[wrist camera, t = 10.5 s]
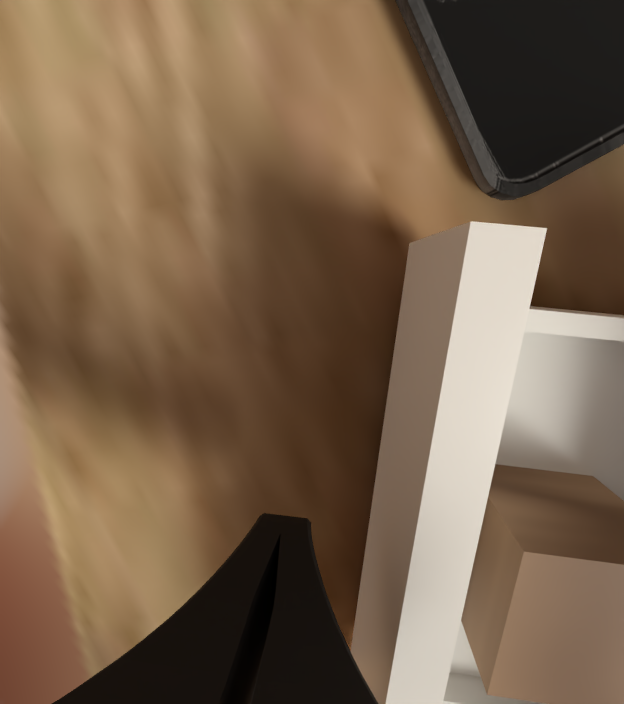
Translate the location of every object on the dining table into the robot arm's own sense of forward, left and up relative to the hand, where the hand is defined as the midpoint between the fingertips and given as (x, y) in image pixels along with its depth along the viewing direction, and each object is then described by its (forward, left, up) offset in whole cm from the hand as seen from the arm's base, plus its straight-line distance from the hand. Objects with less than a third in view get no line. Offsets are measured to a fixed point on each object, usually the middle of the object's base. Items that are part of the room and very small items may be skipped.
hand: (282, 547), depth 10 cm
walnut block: (0, -7, -2) cm, 8 cm away
